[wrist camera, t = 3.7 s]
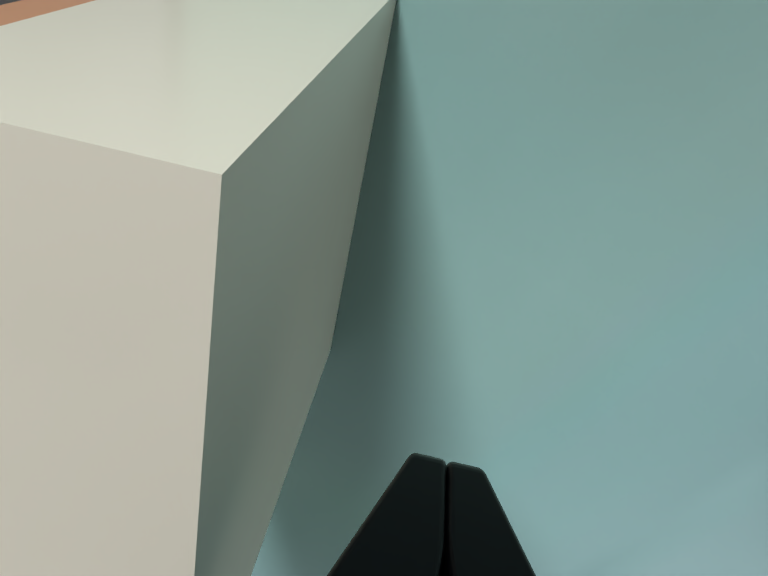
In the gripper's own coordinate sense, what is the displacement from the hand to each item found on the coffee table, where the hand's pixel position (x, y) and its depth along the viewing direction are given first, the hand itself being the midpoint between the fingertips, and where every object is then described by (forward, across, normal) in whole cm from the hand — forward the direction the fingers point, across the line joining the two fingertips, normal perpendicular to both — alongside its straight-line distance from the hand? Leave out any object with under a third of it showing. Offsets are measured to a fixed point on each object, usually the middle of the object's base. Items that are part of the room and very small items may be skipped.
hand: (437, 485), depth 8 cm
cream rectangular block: (+7, +4, 0) cm, 8 cm away
